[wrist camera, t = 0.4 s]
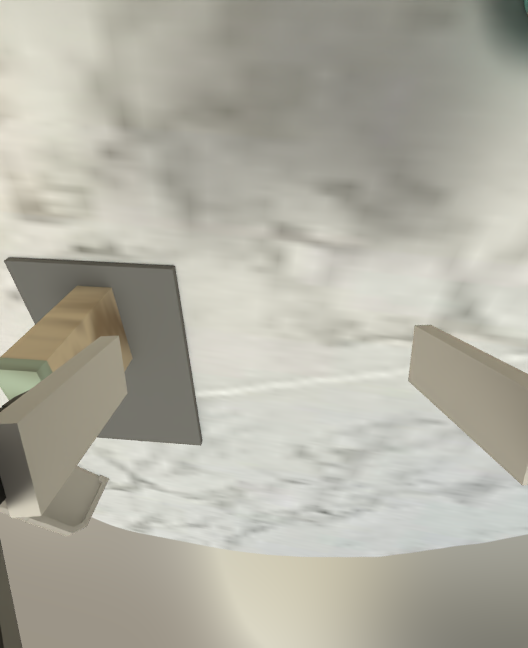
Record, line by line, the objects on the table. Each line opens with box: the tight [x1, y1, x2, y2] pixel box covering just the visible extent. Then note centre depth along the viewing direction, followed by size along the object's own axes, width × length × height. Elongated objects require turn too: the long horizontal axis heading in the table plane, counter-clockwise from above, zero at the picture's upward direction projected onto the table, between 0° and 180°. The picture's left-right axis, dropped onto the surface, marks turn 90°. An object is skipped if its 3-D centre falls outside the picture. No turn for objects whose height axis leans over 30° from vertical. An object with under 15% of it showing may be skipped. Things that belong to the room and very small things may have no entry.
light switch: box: [0, 466, 109, 536], centre depth 43 cm, size 2×12×8 cm, turn 47°
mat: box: [4, 258, 202, 445], centre depth 34 cm, size 24×14×1 cm, turn 179°
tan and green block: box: [0, 286, 132, 401], centre depth 26 cm, size 8×3×10 cm, turn 179°
